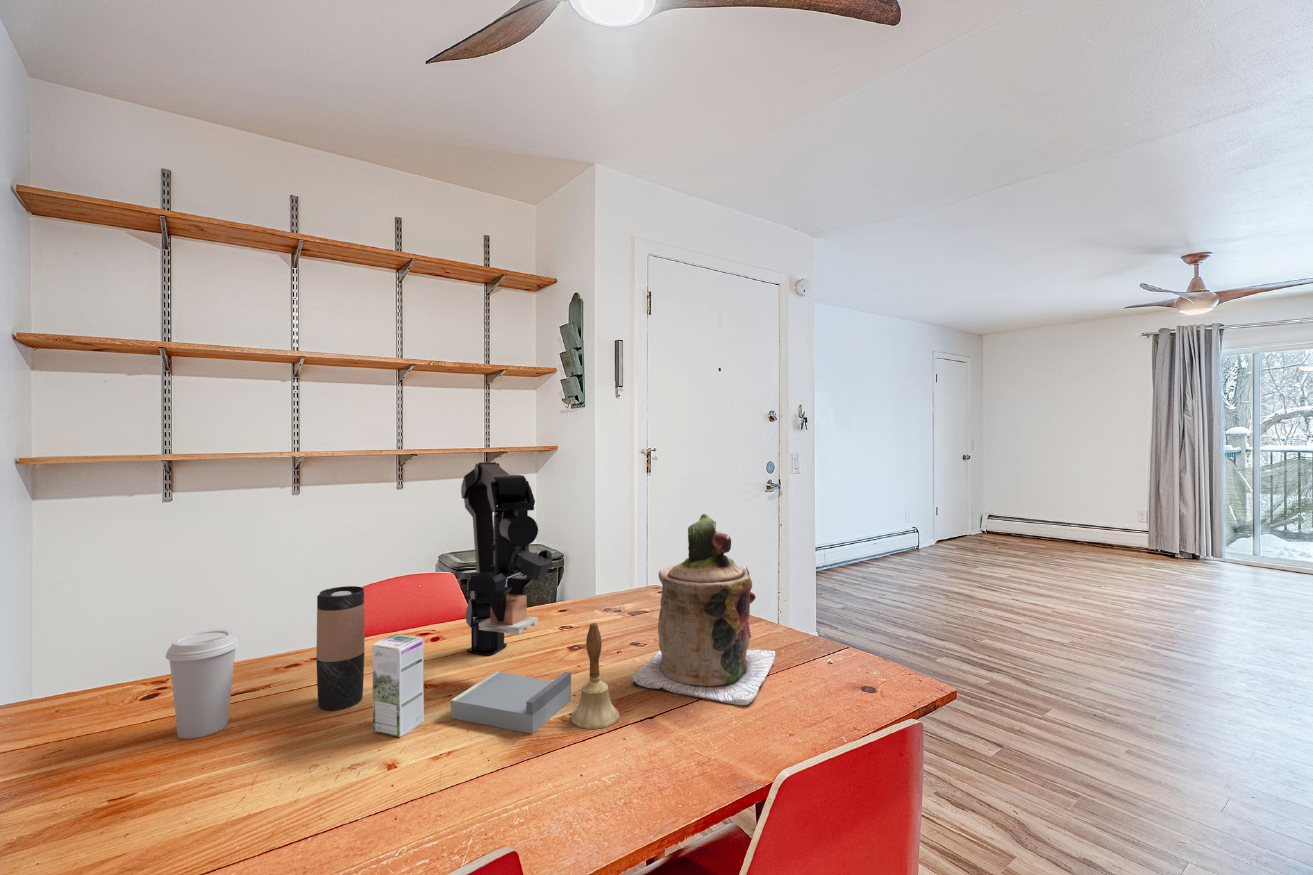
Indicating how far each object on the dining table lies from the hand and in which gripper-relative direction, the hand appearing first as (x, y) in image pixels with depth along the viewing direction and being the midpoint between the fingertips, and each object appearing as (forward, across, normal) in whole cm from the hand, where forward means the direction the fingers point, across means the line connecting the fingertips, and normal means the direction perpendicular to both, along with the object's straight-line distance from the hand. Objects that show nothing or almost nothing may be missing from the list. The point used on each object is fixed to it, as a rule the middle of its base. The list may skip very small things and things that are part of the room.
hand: (508, 617), depth 115 cm
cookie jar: (+13, +16, -36) cm, 42 cm away
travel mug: (+12, -19, +23) cm, 32 cm away
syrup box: (+12, -23, +6) cm, 27 cm away
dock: (+12, -11, -8) cm, 18 cm away
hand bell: (+13, -9, -23) cm, 28 cm away
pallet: (+2, 0, 0) cm, 2 cm away
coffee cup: (+12, -34, +36) cm, 51 cm away
